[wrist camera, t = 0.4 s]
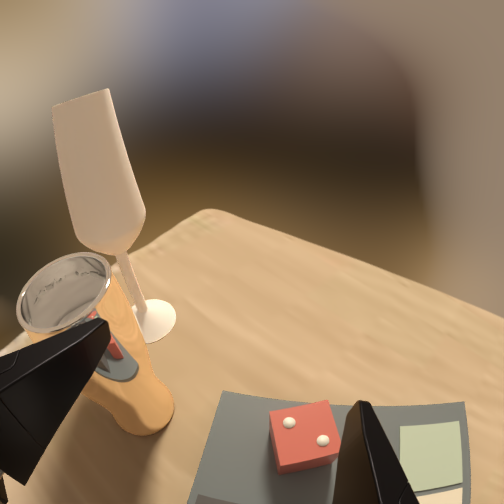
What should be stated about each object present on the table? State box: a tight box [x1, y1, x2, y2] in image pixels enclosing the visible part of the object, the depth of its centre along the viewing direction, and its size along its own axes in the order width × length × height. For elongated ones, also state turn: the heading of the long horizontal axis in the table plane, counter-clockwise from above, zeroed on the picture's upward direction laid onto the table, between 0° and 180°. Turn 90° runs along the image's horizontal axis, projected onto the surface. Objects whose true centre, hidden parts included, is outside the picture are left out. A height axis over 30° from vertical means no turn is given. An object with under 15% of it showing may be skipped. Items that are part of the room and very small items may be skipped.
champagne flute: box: [52, 88, 176, 344], centre depth 24 cm, size 7×7×24 cm
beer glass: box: [16, 252, 174, 436], centre depth 18 cm, size 7×7×15 cm
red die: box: [269, 400, 341, 475], centre depth 17 cm, size 4×4×4 cm
